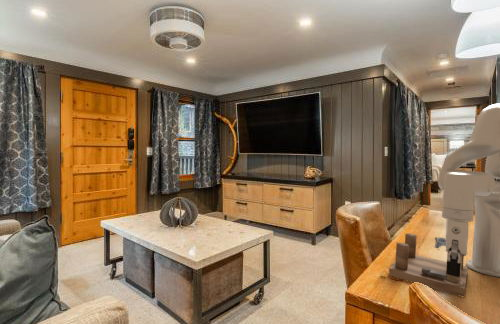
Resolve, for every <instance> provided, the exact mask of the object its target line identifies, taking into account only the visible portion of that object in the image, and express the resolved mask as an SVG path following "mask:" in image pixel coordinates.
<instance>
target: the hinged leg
mask: <svg viewBox="0 0 500 324" xmlns="http://www.w3.org/2000/svg"><path fill="white" fill-rule="evenodd" d="M446 255H447V256H446V261H447V260H448V255H449V252H447V251H446ZM457 256H458V255H457ZM457 261H458V260H457ZM460 263H461V265H462V254H461V255H460ZM446 269H447V267H446ZM422 273H423V274H426V275H431V276H435V277H439V278H443V279H447V280H449V281H452V282H457V283H458V282H460V280H461V268H460V277H456V276H451V275H448V274H446V273H442V272H437V271H433V270H430V269H428V268H422Z"/></svg>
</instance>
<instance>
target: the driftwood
mask: <svg viewBox="0 0 500 324" xmlns="http://www.w3.org/2000/svg"><path fill="white" fill-rule="evenodd" d="M434 245H435V247H434V248H435V249H437V251H440V248H441V247H446V237H445V238H444V237H437V236H436V237H435V244H434Z"/></svg>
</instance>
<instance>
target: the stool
mask: <svg viewBox="0 0 500 324" xmlns="http://www.w3.org/2000/svg"><path fill="white" fill-rule="evenodd" d="M417 236H418V235H416V234H413V233H407V232H406V233H405V236H404V238H405V239H404V242H396V247H395V249H396V250H395V251H396V252H395V260H394V262H393V263H392V265H390V267H389V268H388V276H389V277H392V276H393V277H392V278H395V277H396V279H399V278H400V279H399V280H402V279H404V280H403V281H406V280H408V281H407V282H409V281H412V282H411V283H413V282H419V283H422V284H424V285H427V286H429V287H428V288H430V287H431V288H430V289H434V290H438V291H441V292H444V293H448V294H452V295H455V294H456V295H455V296H458V295H460V296H459V297H462V296H464V297H465V296H466V288H465V287H466V286H467V279H468V268H469V267H468V266H467V265H464V259H465V256H464V255H462V265H461V280H460V282H458V283H457V282H452V281H449V280H447V279H443V278H439V277H435V276H431V275H426V274H423V273H422V268H428V269H430V270H433V271H437V272H442V273H446V267H447V261H444V260H440V259H437V258H431V257H427V256H422V255H418V254H417V253H416V252H417V238H418V237H417ZM427 286H426V287H427Z"/></svg>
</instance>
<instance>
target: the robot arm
mask: <svg viewBox="0 0 500 324" xmlns="http://www.w3.org/2000/svg"><path fill="white" fill-rule="evenodd" d="M483 158H486V160H485V166H484V172H483V171H475V170H473V171H472V170H462V169H461V170H460V168H461V167H462V166H463V165H465V164H467V163H469V162H473V161H476V160H480V159H483ZM495 179H496V180H495ZM497 180H500V103H494V104H491V105H488V106H487V107H485V108H483V109H482V110H481V111H480V113H479V115H478V116H477V120H476V122H475V124H474V128H473V129H472V132H471V135H470V137H469V140H468V141H467V142H466V143H465V144H463V145H461V146H459V147H458V148H457V149H455V150H454V151H452V152H451V153H450V154H449V155H447V157H446V158H445V159H444V161H443V163H442V166H441V169H440V172H439V174H438V178H437V185H438V187H439V189H440V190H441V191H443V193H442V208H441V217H442V218H443V219H446V221H445V222H446V223H445V240H446V246H445V252H446V253H447V252H449V255H448V260H447V259H446V262H447V269H446V274H448V275H451V276H456V277H460V268H461V263H460V255H461V254H462V255H464V257H466V256H467V255H468V254H467V253H468V239H469V223H471V222H473V221H474V224H473V225H474V226H473V227H474V228H473V241H472V252H471V253H472V254H471V259H468V260H466V264H465V266H467V267H468V268H469V269H471V270H472V271H474V272H475V271H476V272H477V273H479V274H484V275H486V276H487V275H488V276H490V277H491V276H492V277H497V278H500V181H497ZM457 255H458V256H457ZM457 260H458V261H457Z"/></svg>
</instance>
